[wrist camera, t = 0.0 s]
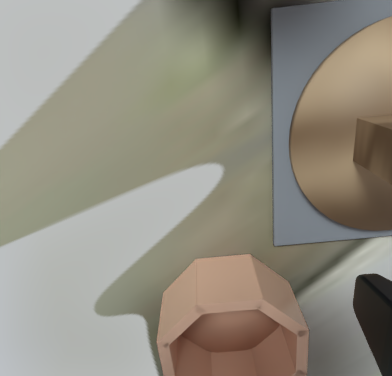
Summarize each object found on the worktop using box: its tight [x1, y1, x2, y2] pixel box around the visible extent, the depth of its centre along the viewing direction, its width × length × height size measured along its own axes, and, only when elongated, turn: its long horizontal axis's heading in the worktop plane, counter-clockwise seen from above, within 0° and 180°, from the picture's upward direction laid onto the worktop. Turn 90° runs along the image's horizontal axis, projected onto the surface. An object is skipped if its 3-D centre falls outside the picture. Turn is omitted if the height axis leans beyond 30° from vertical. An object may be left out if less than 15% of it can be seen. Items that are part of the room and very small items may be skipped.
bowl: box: [156, 254, 309, 376], centre depth 24 cm, size 10×10×5 cm
